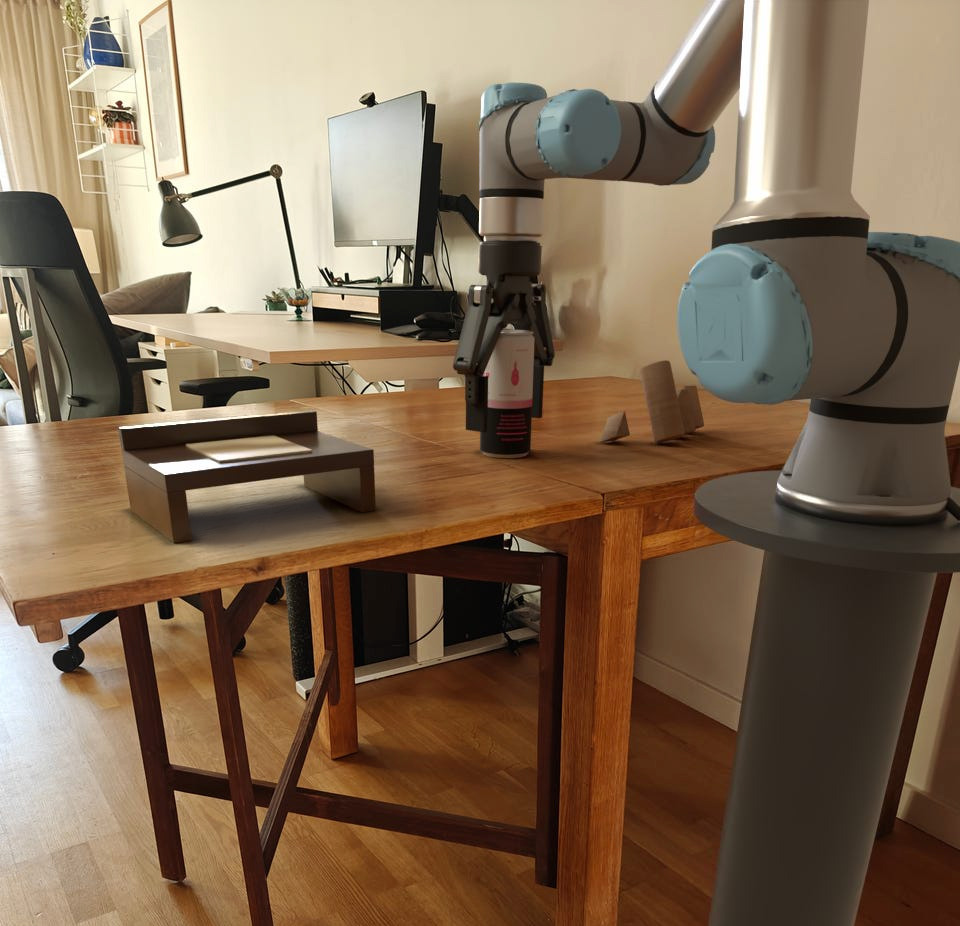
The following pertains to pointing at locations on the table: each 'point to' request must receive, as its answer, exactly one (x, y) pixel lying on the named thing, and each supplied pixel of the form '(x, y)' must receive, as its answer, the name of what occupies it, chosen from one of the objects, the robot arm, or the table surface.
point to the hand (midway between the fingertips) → (505, 423)
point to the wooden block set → (661, 407)
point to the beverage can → (509, 396)
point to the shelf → (237, 463)
